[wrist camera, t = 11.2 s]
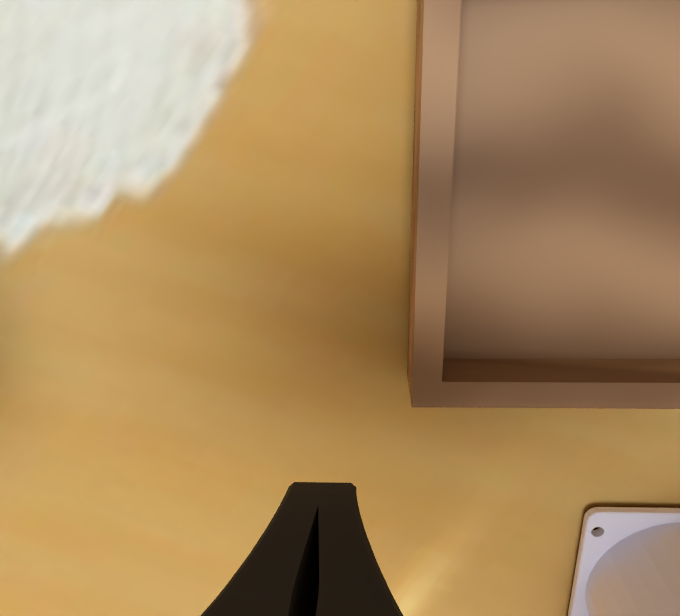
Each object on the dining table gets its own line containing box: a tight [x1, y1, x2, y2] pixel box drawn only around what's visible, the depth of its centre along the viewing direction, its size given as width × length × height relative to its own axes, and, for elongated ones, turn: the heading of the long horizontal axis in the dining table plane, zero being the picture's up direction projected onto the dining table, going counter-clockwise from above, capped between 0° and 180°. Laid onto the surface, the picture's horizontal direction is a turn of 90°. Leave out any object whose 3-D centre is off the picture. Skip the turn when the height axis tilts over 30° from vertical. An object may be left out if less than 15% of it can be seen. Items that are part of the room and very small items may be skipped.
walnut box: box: [407, 0, 680, 409], centre depth 19 cm, size 14×15×2 cm
